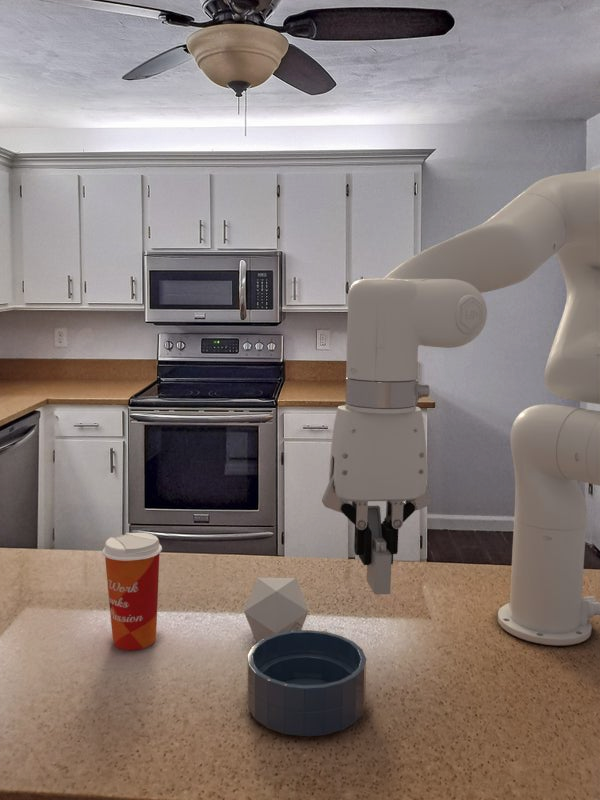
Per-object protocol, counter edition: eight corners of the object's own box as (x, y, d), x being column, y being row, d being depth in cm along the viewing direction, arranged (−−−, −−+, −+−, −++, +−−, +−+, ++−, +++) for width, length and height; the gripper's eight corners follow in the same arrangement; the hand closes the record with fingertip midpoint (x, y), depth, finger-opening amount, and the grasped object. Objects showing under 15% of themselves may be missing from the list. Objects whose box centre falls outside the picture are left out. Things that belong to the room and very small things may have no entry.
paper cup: (93, 640, 98) (90, 540, 96) (141, 622, 104) (139, 527, 102) (127, 660, 93) (124, 555, 91) (175, 640, 99) (174, 540, 97)
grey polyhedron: (284, 666, 93) (325, 596, 95) (225, 627, 94) (267, 559, 96) (285, 657, 102) (322, 594, 104) (230, 622, 103) (269, 560, 105)
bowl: (352, 673, 90) (353, 627, 90) (375, 737, 77) (377, 684, 77) (245, 679, 89) (245, 632, 88) (250, 745, 76) (250, 691, 75)
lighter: (390, 594, 78) (393, 521, 77) (374, 594, 78) (377, 521, 77) (375, 569, 85) (377, 502, 84) (360, 570, 85) (362, 502, 84)
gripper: (440, 391, 83) (434, 547, 86) (302, 391, 81) (300, 551, 84) (463, 400, 76) (455, 570, 78) (312, 400, 74) (309, 575, 76)
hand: (375, 559), depth 81 cm, fingers closed on lighter, 1 cm apart
